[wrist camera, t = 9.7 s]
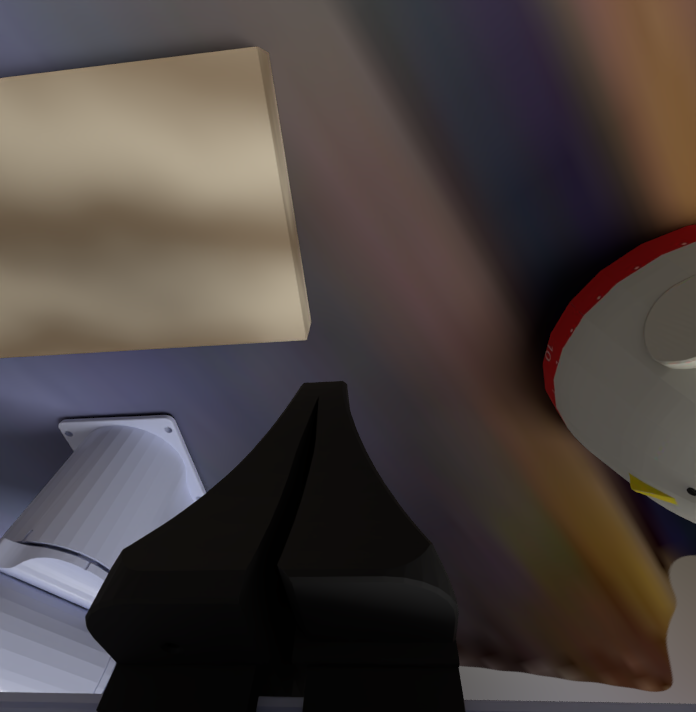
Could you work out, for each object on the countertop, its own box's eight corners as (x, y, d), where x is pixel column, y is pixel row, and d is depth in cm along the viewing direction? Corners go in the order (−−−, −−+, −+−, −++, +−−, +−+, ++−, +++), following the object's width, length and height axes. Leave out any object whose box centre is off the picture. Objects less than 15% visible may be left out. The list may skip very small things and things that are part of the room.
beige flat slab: (311, 321, 22) (306, 339, 20) (-19, 342, 24) (-48, 360, 22) (268, 52, 16) (256, 46, 14) (-179, 106, 17) (-237, 107, 16)
